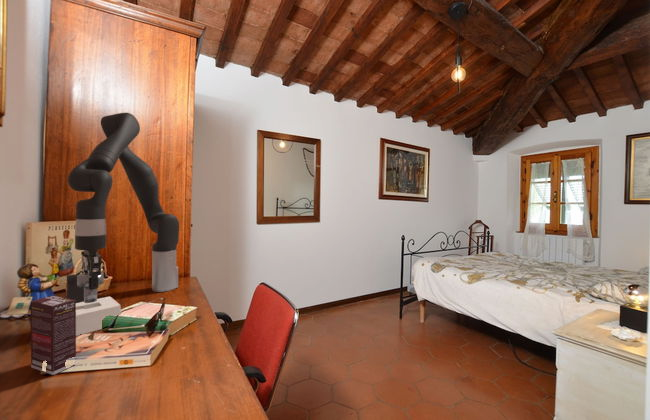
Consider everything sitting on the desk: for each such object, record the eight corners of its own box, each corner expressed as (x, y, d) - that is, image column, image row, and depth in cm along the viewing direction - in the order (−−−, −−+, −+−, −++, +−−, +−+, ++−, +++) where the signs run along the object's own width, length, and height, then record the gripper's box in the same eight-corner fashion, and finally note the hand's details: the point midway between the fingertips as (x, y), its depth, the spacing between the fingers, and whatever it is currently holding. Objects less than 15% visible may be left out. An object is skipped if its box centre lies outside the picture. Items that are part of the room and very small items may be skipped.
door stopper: (90, 308, 101) (90, 275, 100) (67, 313, 96) (67, 278, 96) (87, 301, 107) (87, 270, 107) (66, 305, 103) (66, 273, 102)
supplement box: (77, 364, 67) (77, 299, 67) (52, 376, 63) (51, 306, 62) (55, 357, 70) (54, 294, 70) (29, 367, 66) (28, 301, 65)
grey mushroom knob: (100, 296, 93) (101, 270, 92) (106, 301, 88) (106, 274, 88) (75, 301, 88) (75, 274, 87) (79, 306, 84) (79, 278, 83)
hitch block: (110, 313, 97) (110, 296, 97) (120, 323, 89) (120, 305, 89) (63, 324, 88) (62, 305, 87) (70, 337, 80) (70, 316, 80)
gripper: (112, 234, 86) (111, 288, 86) (100, 230, 95) (100, 279, 95) (79, 236, 80) (79, 294, 80) (70, 232, 89) (70, 284, 90)
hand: (90, 286), depth 88 cm, fingers closed on grey mushroom knob, 6 cm apart
